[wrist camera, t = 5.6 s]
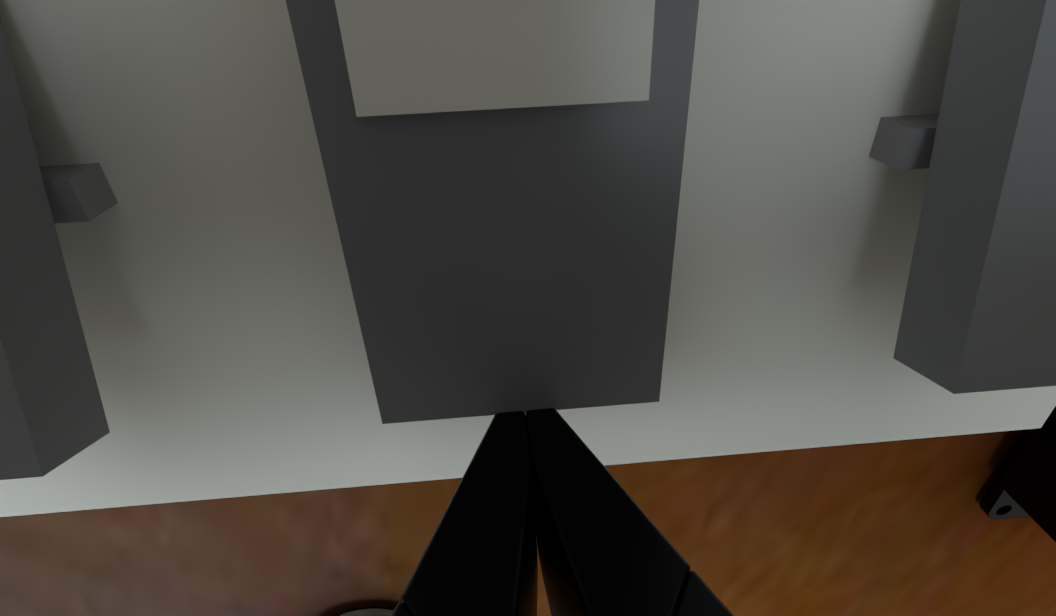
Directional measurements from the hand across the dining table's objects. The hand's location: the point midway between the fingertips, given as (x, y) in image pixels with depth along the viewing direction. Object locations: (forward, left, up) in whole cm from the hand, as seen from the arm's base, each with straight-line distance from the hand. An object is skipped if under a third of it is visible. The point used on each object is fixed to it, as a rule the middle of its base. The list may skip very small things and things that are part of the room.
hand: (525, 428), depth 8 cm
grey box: (0, -4, -1) cm, 4 cm away
